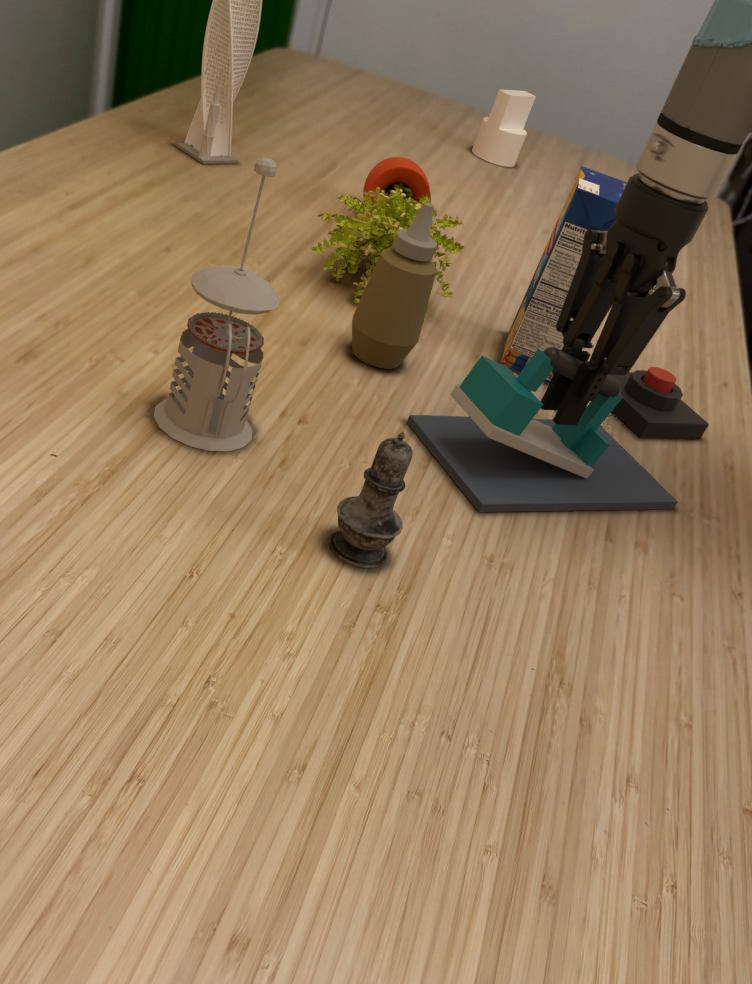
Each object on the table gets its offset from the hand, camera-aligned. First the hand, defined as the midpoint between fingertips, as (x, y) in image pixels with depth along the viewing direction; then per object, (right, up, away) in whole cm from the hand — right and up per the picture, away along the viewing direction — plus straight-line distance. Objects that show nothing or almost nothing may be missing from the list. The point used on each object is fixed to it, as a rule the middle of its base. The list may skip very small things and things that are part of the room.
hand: (557, 415), depth 107 cm
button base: (+17, +5, +23) cm, 29 cm away
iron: (-4, -2, 0) cm, 5 cm away
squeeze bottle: (-17, +10, +14) cm, 25 cm away
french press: (-36, -3, -7) cm, 37 cm away
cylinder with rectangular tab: (+14, +72, +98) cm, 123 cm away
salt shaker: (-22, -15, -16) cm, 31 cm away
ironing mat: (-1, -4, +5) cm, 6 cm away
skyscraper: (-40, +53, +55) cm, 86 cm away
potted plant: (-15, +31, +40) cm, 53 cm away
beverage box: (+3, +13, +26) cm, 29 cm away
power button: (+18, +8, +20) cm, 28 cm away
